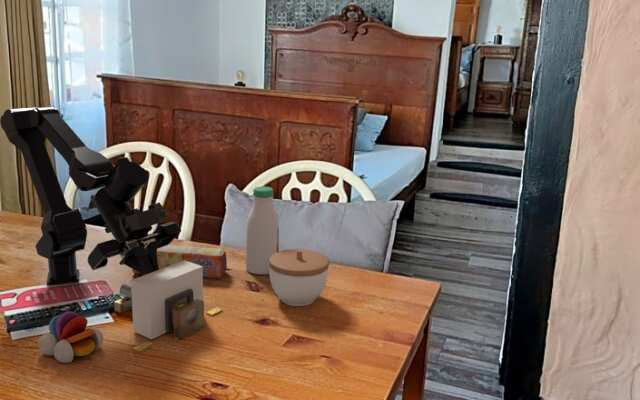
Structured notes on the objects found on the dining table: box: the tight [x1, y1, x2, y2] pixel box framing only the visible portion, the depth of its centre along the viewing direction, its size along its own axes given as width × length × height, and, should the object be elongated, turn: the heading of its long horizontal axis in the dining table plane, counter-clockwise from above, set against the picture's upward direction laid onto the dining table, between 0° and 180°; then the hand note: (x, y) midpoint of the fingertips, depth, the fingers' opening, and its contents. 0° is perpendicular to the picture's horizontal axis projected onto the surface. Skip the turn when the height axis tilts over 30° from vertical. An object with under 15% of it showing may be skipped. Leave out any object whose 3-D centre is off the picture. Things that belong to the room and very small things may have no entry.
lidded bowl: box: [269, 248, 330, 307], centre depth 127 cm, size 13×13×11 cm
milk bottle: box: [245, 186, 280, 276], centre depth 141 cm, size 8×8×20 cm
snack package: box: [131, 244, 228, 280], centre depth 139 cm, size 21×7×7 cm, turn 88°
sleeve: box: [130, 260, 204, 340], centre depth 114 cm, size 6×13×10 cm, turn 146°
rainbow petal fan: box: [38, 311, 104, 364], centre depth 104 cm, size 8×10×7 cm
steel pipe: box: [113, 281, 224, 353], centre depth 117 cm, size 19×21×6 cm
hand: (158, 281), depth 115 cm, fingers closed, pressing on sleeve
